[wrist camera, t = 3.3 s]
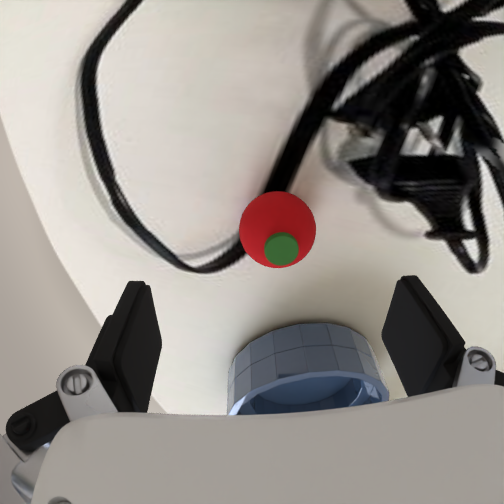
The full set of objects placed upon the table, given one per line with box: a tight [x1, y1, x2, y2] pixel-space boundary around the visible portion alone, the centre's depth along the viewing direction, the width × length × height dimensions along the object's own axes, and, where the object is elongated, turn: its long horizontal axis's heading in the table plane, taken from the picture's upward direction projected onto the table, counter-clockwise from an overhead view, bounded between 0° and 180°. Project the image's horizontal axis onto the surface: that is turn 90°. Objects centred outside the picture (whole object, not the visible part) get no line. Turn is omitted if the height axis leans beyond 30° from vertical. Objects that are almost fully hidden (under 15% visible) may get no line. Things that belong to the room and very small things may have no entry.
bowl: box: [227, 323, 389, 415], centre depth 23 cm, size 12×12×5 cm
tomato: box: [239, 191, 316, 268], centre depth 17 cm, size 4×4×4 cm
